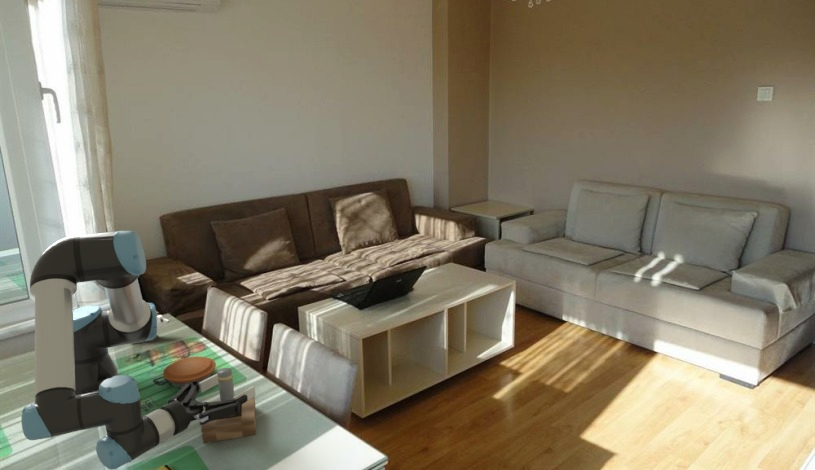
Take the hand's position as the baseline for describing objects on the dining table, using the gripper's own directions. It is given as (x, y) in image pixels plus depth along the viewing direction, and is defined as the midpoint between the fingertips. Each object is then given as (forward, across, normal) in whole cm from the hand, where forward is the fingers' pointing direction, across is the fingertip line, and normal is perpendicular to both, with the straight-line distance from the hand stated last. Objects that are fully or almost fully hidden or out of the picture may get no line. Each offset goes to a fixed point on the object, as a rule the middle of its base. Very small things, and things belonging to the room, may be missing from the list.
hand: (236, 383), depth 155 cm
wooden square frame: (-3, 0, -11) cm, 11 cm away
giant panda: (+17, -69, -11) cm, 72 cm away
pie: (+7, -31, -11) cm, 34 cm away
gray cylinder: (-3, 0, -11) cm, 11 cm away
